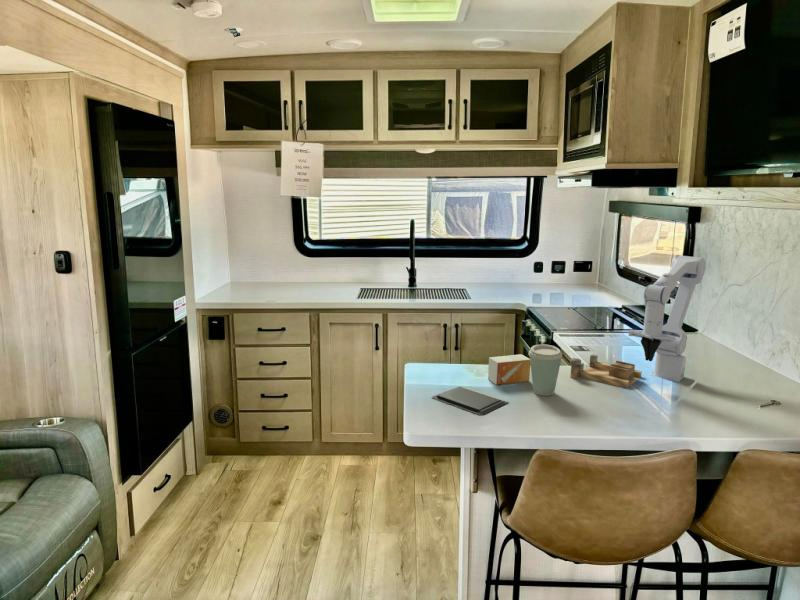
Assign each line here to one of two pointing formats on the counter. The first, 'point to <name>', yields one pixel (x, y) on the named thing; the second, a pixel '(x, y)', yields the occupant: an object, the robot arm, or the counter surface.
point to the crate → (622, 370)
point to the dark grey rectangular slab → (470, 401)
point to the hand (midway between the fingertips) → (649, 360)
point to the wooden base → (599, 372)
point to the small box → (509, 369)
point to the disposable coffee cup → (544, 368)
